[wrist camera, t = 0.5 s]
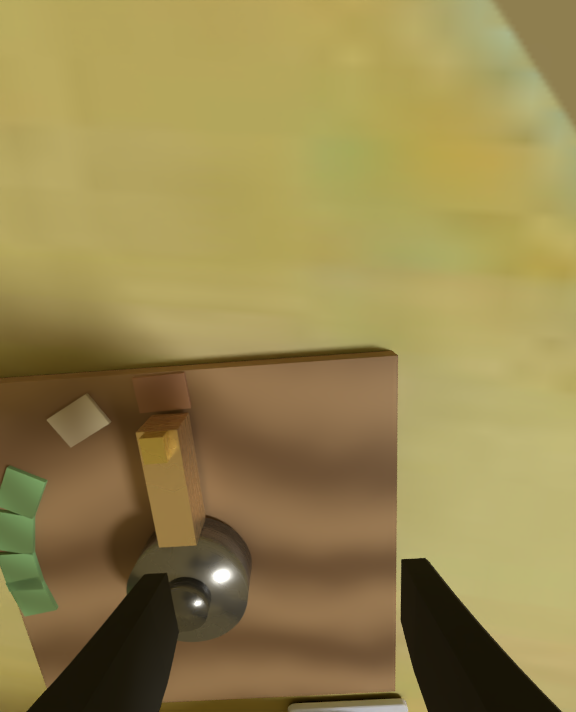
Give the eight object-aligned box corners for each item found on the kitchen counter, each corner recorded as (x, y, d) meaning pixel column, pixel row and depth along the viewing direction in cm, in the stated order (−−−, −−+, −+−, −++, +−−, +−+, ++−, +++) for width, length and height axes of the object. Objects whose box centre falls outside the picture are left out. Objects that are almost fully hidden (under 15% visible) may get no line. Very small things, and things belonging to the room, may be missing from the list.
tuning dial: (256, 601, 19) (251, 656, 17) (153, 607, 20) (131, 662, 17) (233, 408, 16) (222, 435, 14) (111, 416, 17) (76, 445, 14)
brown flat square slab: (390, 672, 22) (396, 695, 21) (62, 689, 23) (50, 711, 22) (391, 350, 17) (399, 356, 16) (-40, 380, 17) (-64, 388, 16)
